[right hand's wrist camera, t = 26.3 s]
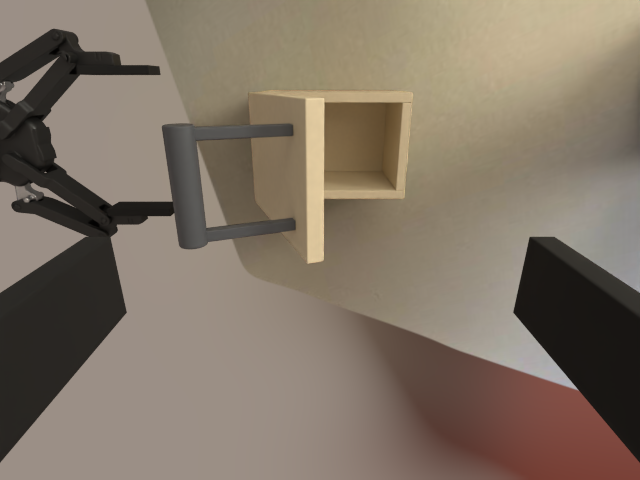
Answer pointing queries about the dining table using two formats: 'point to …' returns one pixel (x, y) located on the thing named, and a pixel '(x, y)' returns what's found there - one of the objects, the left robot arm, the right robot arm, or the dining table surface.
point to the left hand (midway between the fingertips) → (165, 144)
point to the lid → (259, 173)
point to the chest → (363, 141)
